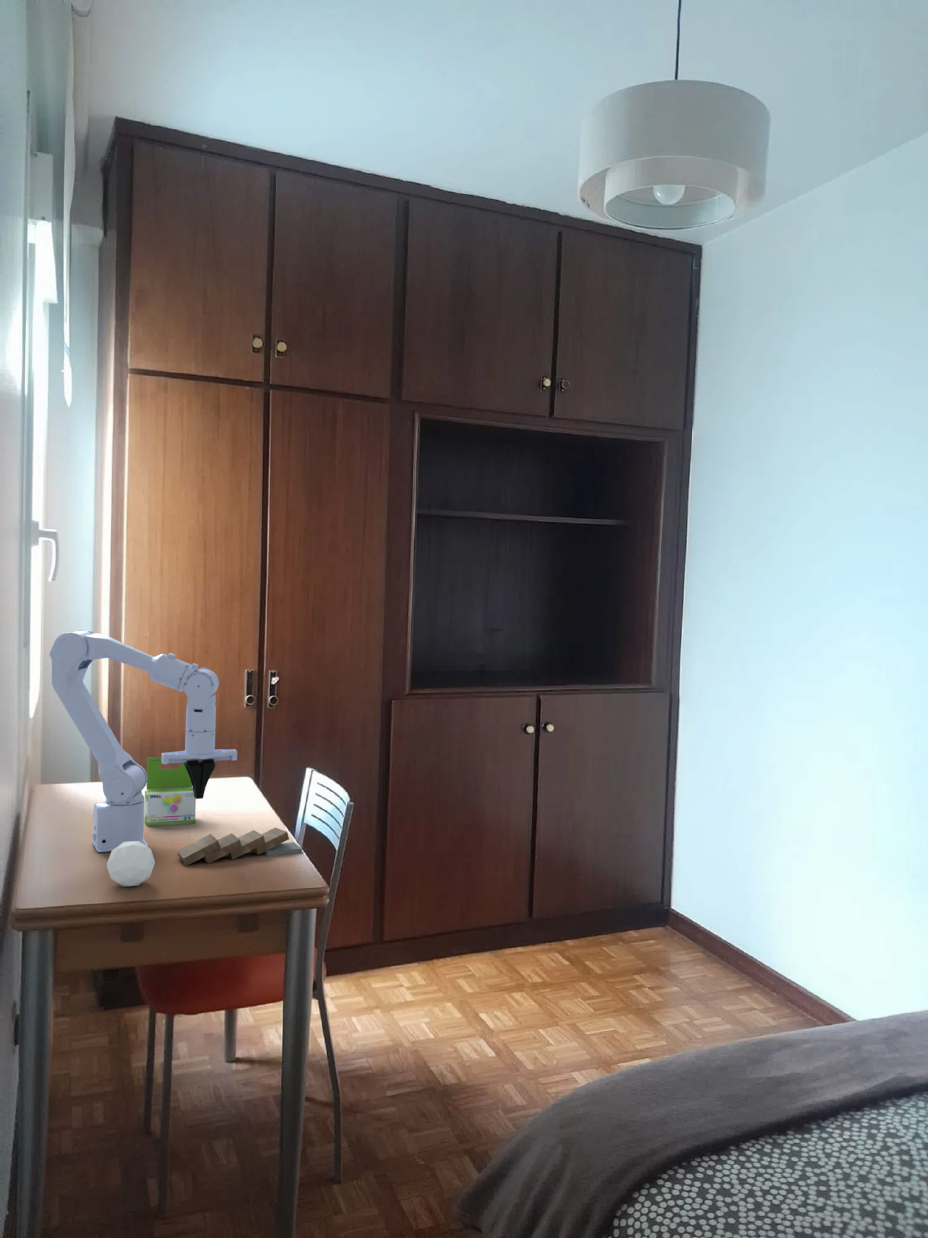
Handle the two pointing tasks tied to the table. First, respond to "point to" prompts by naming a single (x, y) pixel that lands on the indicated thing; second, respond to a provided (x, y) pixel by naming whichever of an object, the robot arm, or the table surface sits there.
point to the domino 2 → (224, 848)
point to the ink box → (168, 795)
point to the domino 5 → (283, 849)
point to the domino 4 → (271, 840)
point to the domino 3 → (248, 843)
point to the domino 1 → (198, 849)
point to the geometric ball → (130, 863)
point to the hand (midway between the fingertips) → (198, 797)
